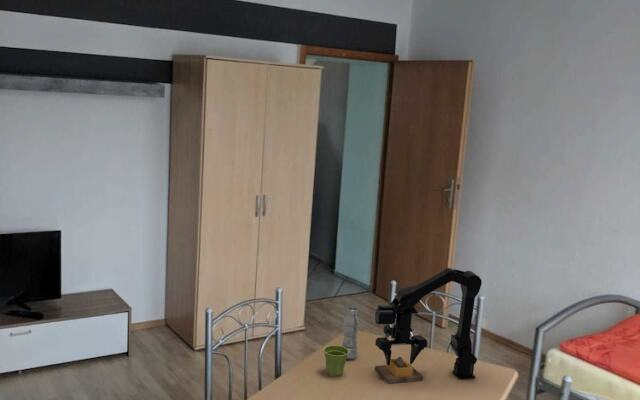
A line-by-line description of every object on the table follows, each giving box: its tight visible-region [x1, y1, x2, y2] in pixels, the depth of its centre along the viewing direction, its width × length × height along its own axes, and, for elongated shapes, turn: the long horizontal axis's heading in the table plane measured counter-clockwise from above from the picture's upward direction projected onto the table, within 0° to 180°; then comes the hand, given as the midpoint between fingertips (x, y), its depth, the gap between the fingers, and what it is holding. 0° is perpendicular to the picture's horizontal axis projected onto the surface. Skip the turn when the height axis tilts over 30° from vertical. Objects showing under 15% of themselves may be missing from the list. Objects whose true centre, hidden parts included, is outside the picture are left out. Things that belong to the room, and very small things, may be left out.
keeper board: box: [374, 356, 424, 385], centre depth 244 cm, size 14×12×7 cm
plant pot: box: [323, 345, 349, 377], centre depth 242 cm, size 9×9×9 cm
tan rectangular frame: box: [385, 358, 414, 377], centre depth 244 cm, size 7×9×3 cm
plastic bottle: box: [341, 306, 361, 360], centre depth 255 cm, size 6×7×20 cm
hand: (399, 364), depth 243 cm, fingers open, 9 cm apart
